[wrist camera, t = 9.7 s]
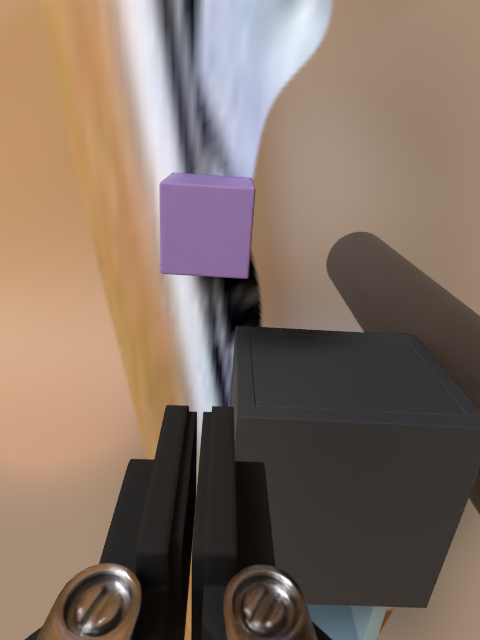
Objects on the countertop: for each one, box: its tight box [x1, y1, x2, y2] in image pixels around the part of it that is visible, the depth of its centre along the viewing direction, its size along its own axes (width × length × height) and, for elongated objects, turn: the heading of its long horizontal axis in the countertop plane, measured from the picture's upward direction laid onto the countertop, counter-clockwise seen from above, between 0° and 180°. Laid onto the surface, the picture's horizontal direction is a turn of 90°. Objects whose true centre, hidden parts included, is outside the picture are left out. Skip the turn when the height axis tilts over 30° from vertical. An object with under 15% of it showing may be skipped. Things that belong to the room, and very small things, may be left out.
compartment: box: [230, 326, 480, 608], centre depth 24 cm, size 12×11×9 cm
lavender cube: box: [160, 173, 255, 279], centre depth 21 cm, size 4×4×4 cm
